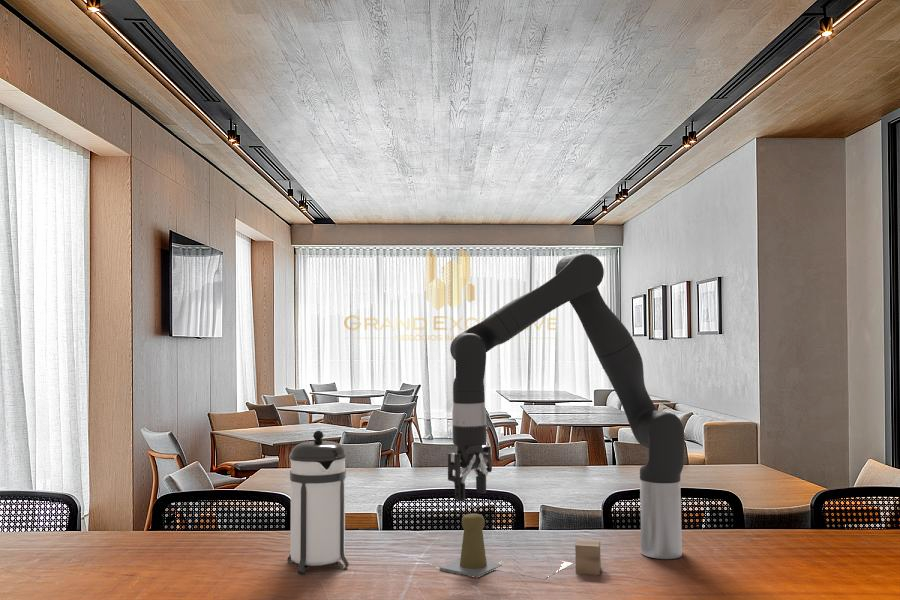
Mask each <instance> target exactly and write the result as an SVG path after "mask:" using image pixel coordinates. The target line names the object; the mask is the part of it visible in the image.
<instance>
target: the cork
mask: <svg viewBox="0 0 900 600" xmlns="http://www.w3.org/2000/svg"><path fill="white" fill-rule="evenodd" d="M485 524H486V523H485V518H484V516H483V515H481V514H479V513H466V514H464V515H463V516H462V518H461V527H462V529H463V534H462V535H463V536H462V544H461V550H460V551H461V552H460V553H461V554H460V558H461V559H460V558H459V559H460V566H461V567H463V568H468V569H479V568H484V567H486V566H487V562H486V561H487V556H486V549H485V541H484V534H483V533H484V531H483V530H484V528H485Z"/></svg>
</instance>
